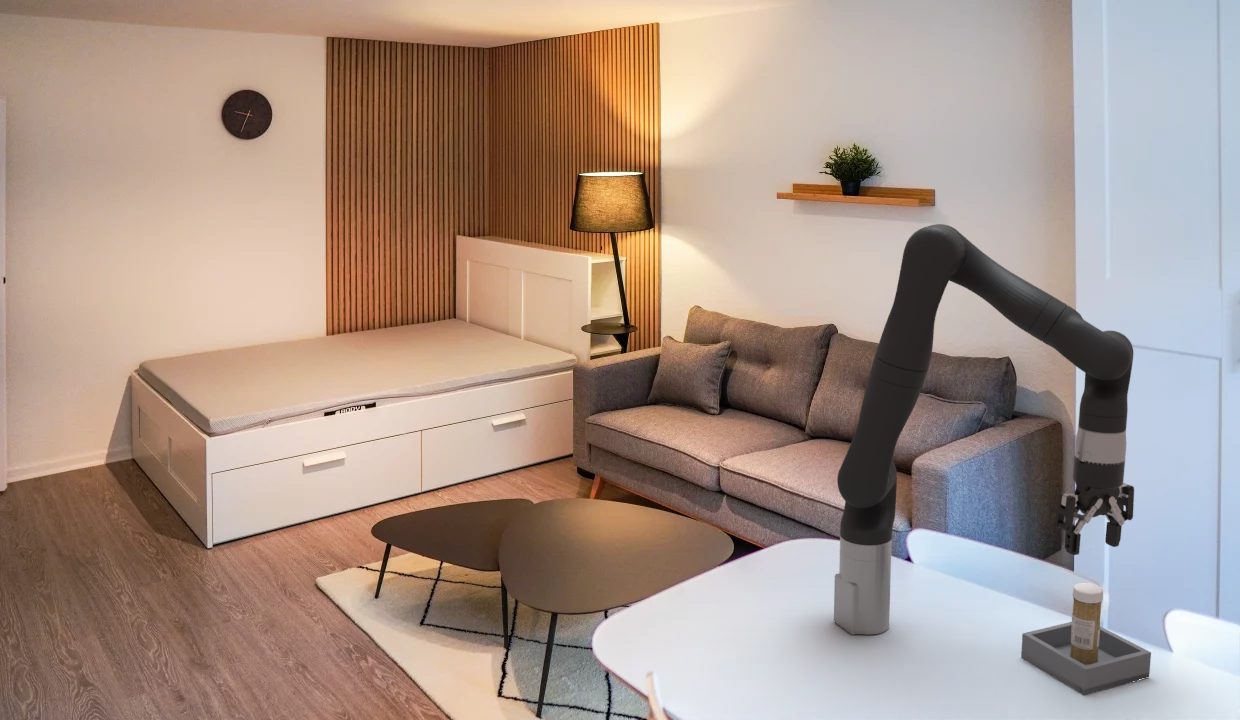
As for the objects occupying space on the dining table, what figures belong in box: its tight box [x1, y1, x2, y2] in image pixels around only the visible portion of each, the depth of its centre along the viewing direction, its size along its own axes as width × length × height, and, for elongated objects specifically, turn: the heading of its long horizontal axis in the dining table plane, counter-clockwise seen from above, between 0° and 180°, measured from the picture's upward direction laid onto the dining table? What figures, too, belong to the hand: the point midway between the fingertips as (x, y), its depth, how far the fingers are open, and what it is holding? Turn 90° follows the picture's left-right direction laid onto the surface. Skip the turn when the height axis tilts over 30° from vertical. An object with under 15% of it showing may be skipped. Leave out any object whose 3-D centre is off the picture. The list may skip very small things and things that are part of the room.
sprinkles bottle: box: [1070, 582, 1104, 665], centre depth 176 cm, size 5×5×13 cm
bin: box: [1020, 621, 1152, 696], centre depth 177 cm, size 14×14×4 cm
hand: (1092, 549), depth 174 cm, fingers open, 8 cm apart
